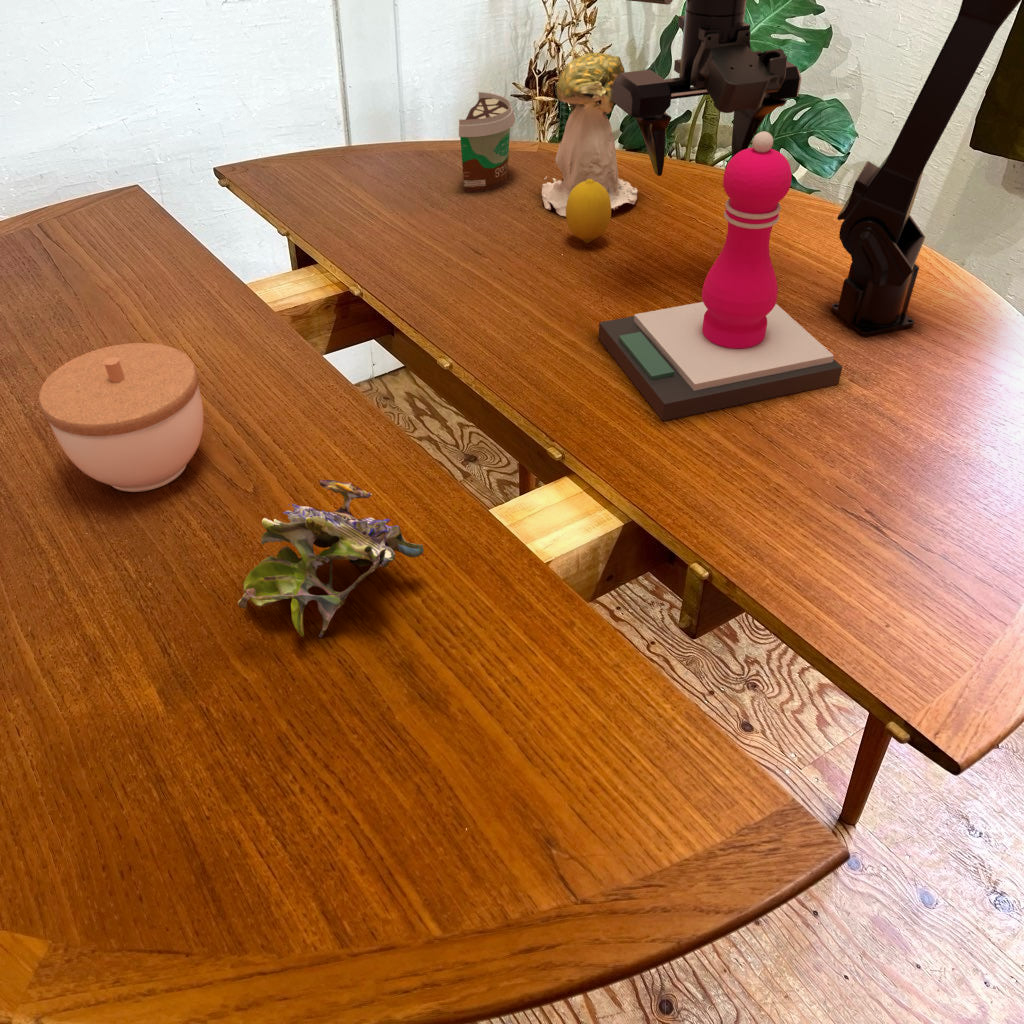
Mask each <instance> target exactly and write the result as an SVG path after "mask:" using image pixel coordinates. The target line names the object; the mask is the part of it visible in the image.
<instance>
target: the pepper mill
mask: <svg viewBox="0 0 1024 1024" xmlns="http://www.w3.org/2000/svg"><path fill="white" fill-rule="evenodd" d="M751 143H752V147H748V148H747V149H744V150H742V151H740V152H738V153H737V154H736V155H734V156H733V157H732V156H731V158H730V160H729V161H728V163H727V165H726V167H725V169H724V173H723V177H722V186H723V189H724V192H725V194H726V195H727V197H728V199H727V200H726V201H725V203H724V207H725V210H724V212H723V217H724V219H725V220H726V222H727V233H726V238H725V241H724V245H723V247H722V249H721V252H720V253H719V255H718V257H717V258H716V260H715V261H714V263H713V264H712V265H711V267H710V269H709V270H708V272H707V275H706V276H705V279H704V282H703V286H702V291H701V299H702V302H704V305H705V306H706V308H707V309H708V310H707V311H706V312H705V314H704V319H703V327H702V332H703V334H704V336H705V337H706V338H707V339H708V340H709V341H710V342H712V343H714V344H716V345H719V346H722V347H726V348H734V349H742V348H749V347H753V346H755V345H757V344H759V343H760V342H762V341H763V339H764V338H765V334H766V328H767V317H766V315H767V314H768V313H770V312H771V311H772V309H773V308H774V306H775V304H777V301H778V291H779V290H778V289H779V288H778V282H777V281H778V280H777V276H776V271H775V268H774V266H773V263H772V259H771V255H770V239H771V233H772V231H773V230H772V229H773V227H774V226H775V225H776V224H778V222H779V220H780V213H781V211H782V206H781V203H780V202H781V201H782V200H783V199H784V198H785V197H786V196H787V194H788V192H789V191H790V189H791V185H792V180H793V179H792V177H793V174H792V167H791V164H790V162H789V160H788V158H786V156H785V155H784V154H783V153H781V152H780V151H778V150H776V149H773V145H774V137H773V136H772V134H771V133H770V132H768V131H765V130H764V131H759V132H758V133H755V135H754V137H753V139H752V141H751Z"/></svg>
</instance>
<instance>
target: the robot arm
mask: <svg viewBox="0 0 1024 1024" xmlns="http://www.w3.org/2000/svg"><path fill="white" fill-rule="evenodd" d="M627 1H629V2H638V3H648V4H649V3H650V4H659V5H665V6H666V5H668V6H669V5H670V4H672V2H673V1H674V0H627ZM1021 1H1022V0H961V4H960V8H959V11H958V14H957V17H956V19H955V22H954V23H953V25H952V28H951V29H950V32H949V33H948V35H947V38H946V40H945V41H944V44H943V46H942V47H941V49H940V51H939V53H938V56H937V57H936V59H935V61H934V63H933V66H932V68H931V69H930V72H929V73H928V76H927V78H926V80H925V82H924V83H923V85H922V88H921V89H920V92H919V94H918V96H917V98H916V99H915V101H914V104H913V106H912V108H911V110H910V111H909V113H908V115H907V118H906V120H905V122H904V124H903V125H902V128H901V130H900V132H899V134H898V136H897V137H896V140H895V142H894V143H893V146H892V148H891V149H890V152H889V153H888V155H887V156H886V157H885V159H884V160H883V161H882V162H881V164H880V165H879V166H877V165H875V164H874V163H873V162H871V161H866V162H865V164H864V166H863V168H862V169H861V171H860V173H859V175H858V176H857V178H856V180H855V182H854V184H853V187H852V190H851V193H850V195H849V197H848V198H847V200H846V201H845V203H844V204H843V207H842V208H841V210H840V213H839V214H838V215H837V221H842V220H843V222H842V223H841V225H840V228H839V240H840V242H841V244H842V247H843V248H844V250H845V251H846V252H847V253H848V254H849V255H850V258H851V263H850V267H849V269H848V270H849V271H848V274H847V277H846V278H844V280H843V283H842V288H841V292H840V297H839V301H838V302H836V303H832V304H831V306H830V311H832V312H833V313H835V314H836V315H837V316H838V317H839V318H840V319H842V320H843V321H844V322H845V323H846V324H847V325H848V326H850V327H851V328H852V329H854V330H855V332H857V333H858V334H859V335H861V336H865V337H867V336H872V335H877V334H883V333H887V332H891V331H898V330H902V329H907V328H912V327H914V326H915V323H916V321H915V320H914V319H913V318H912V317H910V316H909V315H907V313H908V308H909V305H910V301H911V298H912V295H913V291H914V288H915V284H916V280H917V277H918V274H919V271H920V270H919V269H920V266H919V265H917V264H916V261H917V259H918V257H919V254H920V252H921V250H922V247H923V244H924V242H925V239H926V235H925V234H924V233H923V231H922V230H921V229H920V227H919V226H918V224H917V223H916V221H915V220H914V218H913V217H912V216H911V212H912V209H913V206H914V203H915V200H916V197H917V193H918V190H919V187H920V184H921V182H922V181H921V180H922V176H923V173H924V171H925V167H926V166H927V164H928V162H929V160H930V158H931V156H932V154H933V152H934V151H935V149H936V146H937V144H939V141H940V139H941V137H942V135H943V133H944V132H945V130H946V128H947V126H948V125H949V122H950V121H951V119H952V116H953V114H954V113H955V111H956V109H957V107H958V106H959V103H960V101H961V100H962V98H963V96H964V94H965V93H966V91H967V89H968V86H969V85H970V83H971V81H972V79H973V77H974V75H975V74H976V71H977V70H978V68H979V66H980V64H981V62H982V60H983V58H984V57H985V54H986V53H987V51H988V49H989V47H990V45H991V43H992V41H993V40H994V38H995V35H996V34H997V32H998V31H999V30H1000V28H1001V27H1002V26H1003V24H1004V23H1005V21H1006V20H1007V19H1008V18H1009V16H1010V15H1011V14H1012V12H1013V11H1014V10H1015V9H1016V8H1017V6H1018V5H1019V4H1020V3H1021ZM746 6H747V0H686V1H685V8H684V9H685V10H684V11H685V12H684V15H678V21H677V27H678V29H681V30H682V31H683V32H682V42H681V53H680V59H674V65H673V71H674V72H675V73H677V74H678V77H671V78H666V79H665V78H663V77H662V76H660V75H659V74H658V73H656V72H655V71H653V70H652V69H641V70H634V71H624V73H619V74H618V76H617V78H616V79H615V81H614V83H613V84H612V100H611V101H612V102H613V104H615V105H616V106H617V107H618V108H620V109H621V110H622V111H624V113H626V114H627V115H628V116H629V117H631V118H634V119H635V120H636V123H637V125H638V127H639V130H640V132H641V135H642V138H643V141H644V144H645V147H646V150H647V154H648V156H649V160H650V163H651V166H652V168H653V169H652V170H653V173H654V174H655V175H656V176H657V177H661V176H662V175H663V171H664V165H665V154H666V153H665V152H666V151H665V150H666V131H667V128H668V127H667V126H669V124H670V122H671V120H672V116H671V115H669V114H668V113H667V112H666V111H667V110H669V108H670V107H671V103H672V100H678V99H684V98H692V97H693V98H694V97H699V96H707V95H709V96H710V98H711V99H712V102H713V106H714V107H715V109H716V110H717V111H719V112H720V113H722V114H731V113H733V121H732V133H731V158H732V157H733V156H734V155H736V154H737V153H738V152H740V151H742V150H744V149H747V148H750V145H751V143H752V142H753V139H754V137H755V135H756V134H757V131H758V129H759V127H761V124H762V123H763V121H764V120H765V118H766V117H767V116H768V115H769V114H770V113H772V112H773V111H774V110H776V109H777V108H780V107H783V106H785V105H786V104H787V99H792V98H793V99H794V98H797V97H798V96H799V95H800V89H801V84H802V76H801V71H800V69H799V68H798V66H797V65H795V64H794V63H791V62H790V61H788V56H787V55H786V53H785V52H784V50H783V49H781V48H777V49H775V48H774V49H767V50H764V51H762V50H755V51H753V50H752V45H751V35H752V34H751V33H752V32H751V25H750V24H748V23H746V22H745V14H746Z"/></svg>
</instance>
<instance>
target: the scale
mask: <svg viewBox="0 0 1024 1024" xmlns="http://www.w3.org/2000/svg"><path fill="white" fill-rule="evenodd" d="M707 310H708V309H707V308H706V306H705V305H704V302H703V301H700V302H695V303H687V304H683V305H678V306H673V307H667V308H662V309H656V310H650V311H644V312H639V313H635V314H633V315H631V316H625V317H621V318H616V319H610V320H605V321H604V320H603V321H599V323H598V341H600V343H601V344H602V346H603V347H604V348H605V350H607V352H608V353H609V354H610V356H611V357H612V358H613V359H614V361H615V362H616V363H617V365H618V366H619V367H620V368H621V369H622V371H623V372H624V373H625V376H627V378H629V380H630V381H631V383H632V384H633V385H634V386H635V388H636V389H637V390H638V392H639V393H640V394H641V395H642V397H643V398H644V399H645V400H646V402H647V403H648V404H649V406H650V407H651V408H652V409H653V411H654V412H655V413H656V415H657V416H658V417H659V419H660V420H661V421H662V422H665V421H671V420H675V419H679V418H680V419H681V418H684V417H689V416H694V415H699V414H703V413H708V412H712V411H713V412H714V411H717V410H722V409H727V408H732V407H737V406H742V405H747V404H751V403H755V402H760V401H765V400H769V399H774V398H780V397H784V396H788V395H793V394H797V393H803V392H807V391H811V390H817V389H821V388H826V387H830V386H835V385H839V384H840V383H839V382H840V378H841V375H842V371H843V366H842V365H841V364H840V363H839V362H838V361H836V359H834V358H835V355H834V354H833V353H832V352H831V351H829V349H827V348H826V347H825V346H824V345H823V344H822V343H821V342H820V341H819V340H818V339H816V338H815V337H814V335H812V334H811V333H810V332H809V331H807V330H806V329H805V328H804V327H803V326H802V325H801V324H800V323H799V322H797V321H796V320H795V319H794V318H793V317H791V316H790V314H789V313H787V312H786V311H785V310H784V309H783V308H782V307H781V306H779V304H778V303H776V304H775V306H774V308H773V309H772V311H771V312H770V313H768V314H767V315H766V317H767V328H766V334H765V338H764V339H763V341H762V342H760V343H759V344H757V345H755V346H753V347H749V348H742V349H734V348H726V347H722V346H719V345H716V344H714V343H712V342H710V341H709V340H708V339H707V338H706V337H705V336H704V334H703V332H702V327H703V319H704V314H705V312H706V311H707Z"/></svg>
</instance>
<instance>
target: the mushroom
mask: <svg viewBox="0 0 1024 1024" xmlns="http://www.w3.org/2000/svg"><path fill="white" fill-rule="evenodd" d="M624 72H626V71H625V67H624V65H623V63H622V59H621V57H620V56H618V55H616V56H615V55H611V54H609V53H604V52H589V53H584V54H582V55H580V56H578V57H576V58H575V59H573V60H570V61H569V62H568V63H567V65H566V66H565V67H564V70H563V72H562V73H561V75H560V73H559V72H556V75H558V74H559V75H560V77H559V79H558V82H557V86H556V93H557V96H556V97H557V100H558V101H560V102H562V103H565V104H569V105H570V107H571V112H570V114H569V116H568V119H567V120H566V124H565V126H564V132H563V134H562V139H561V141H559V143H558V149H557V151H556V155H555V164H556V166H557V168H558V169H559V171H560V173H561V174H562V180H561V179H556V178H555V177H553V178H552V181H553V182H550V181H547V182H546V183H542V185H541V200H542V201H543V206H544V208H545V209H547V210H548V211H551V210H552V207H553V208H554V209H555V212H556V214H558V215H559V216H560V217H565V218H566V205H567V201H568V197H569V195H570V192H571V191H572V189H573V188H574V187H575V186H576V185H578V184H579V183H581V182H584V181H586V180H587V179H593V181H595V182H598V183H600V184H601V185H602V186H603V187H604V188H605V189H606V190H607V192H608V194H609V197H610V201H611V209H613V211H616V210H618V209H619V207H621V206H622V205H624V204H626V203H627V204H632V205H635V204H636V201H637V199H638V192H639V191H638V188H637V187H633V186H632V184H631V183H630V182H629V181H627V180H626V179H625V180H624V179H622V178H619V169H618V161H617V150H616V143H615V136H614V133H613V130H612V126H611V122H610V120H609V117H608V115H607V114H610V113H611V112H612V111H613V110H614V103H613V102H612V101H611V100H612V84H613V83H614V81H615V79H616V78H617V76H618V74H619V73H624ZM547 179H548V176H547V175H546V176H545V177H544V178H543V180H545V181H546V180H547ZM551 206H552V207H551Z"/></svg>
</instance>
